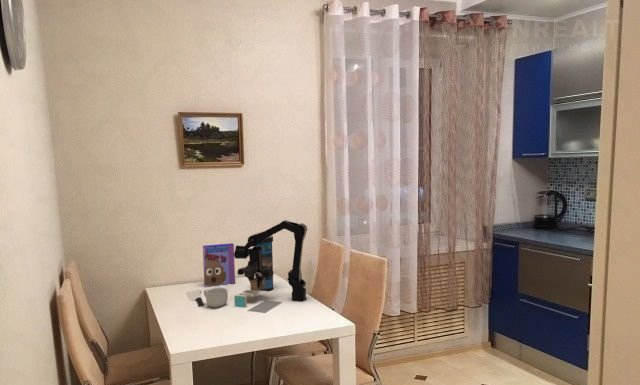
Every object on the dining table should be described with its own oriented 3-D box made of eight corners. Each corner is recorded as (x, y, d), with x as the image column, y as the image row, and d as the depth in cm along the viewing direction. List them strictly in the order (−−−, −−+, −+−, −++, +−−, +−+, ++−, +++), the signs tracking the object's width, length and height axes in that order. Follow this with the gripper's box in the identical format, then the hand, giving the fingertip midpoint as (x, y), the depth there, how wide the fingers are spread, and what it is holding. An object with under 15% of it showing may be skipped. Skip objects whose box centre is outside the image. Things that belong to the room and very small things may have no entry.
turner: (255, 287, 240) (255, 276, 240) (268, 288, 237) (268, 277, 237) (239, 294, 226) (239, 283, 225) (253, 296, 222) (252, 284, 222)
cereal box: (205, 287, 260) (203, 246, 258) (204, 285, 264) (202, 245, 263) (235, 284, 266) (233, 244, 265) (233, 282, 270) (232, 242, 269)
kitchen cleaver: (182, 291, 249) (200, 287, 253) (183, 294, 249) (201, 290, 253) (186, 307, 220) (206, 302, 223) (186, 311, 220) (207, 306, 224)
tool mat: (282, 303, 225) (282, 302, 225) (265, 314, 209) (265, 313, 209) (265, 301, 229) (265, 300, 229) (246, 312, 213) (246, 310, 213)
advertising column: (278, 288, 253) (277, 236, 251) (263, 293, 244) (262, 239, 243) (265, 285, 260) (263, 234, 259) (250, 289, 252) (248, 237, 250)
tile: (246, 307, 219) (246, 295, 219) (245, 308, 218) (244, 296, 218) (236, 306, 222) (236, 294, 221) (234, 307, 220) (234, 295, 220)
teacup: (232, 305, 224) (231, 289, 223) (213, 310, 216) (213, 294, 215) (216, 300, 233) (216, 285, 233) (198, 305, 225) (197, 289, 225)
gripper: (231, 260, 228) (232, 290, 229) (262, 262, 221) (263, 293, 222) (242, 256, 238) (243, 285, 239) (273, 258, 231) (274, 288, 232)
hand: (255, 288), depth 233 cm, fingers closed on turner, 3 cm apart
